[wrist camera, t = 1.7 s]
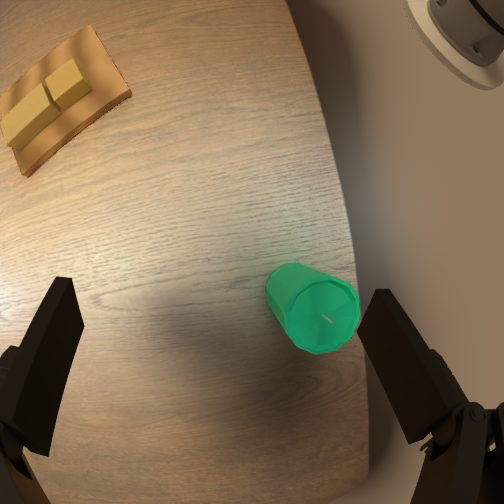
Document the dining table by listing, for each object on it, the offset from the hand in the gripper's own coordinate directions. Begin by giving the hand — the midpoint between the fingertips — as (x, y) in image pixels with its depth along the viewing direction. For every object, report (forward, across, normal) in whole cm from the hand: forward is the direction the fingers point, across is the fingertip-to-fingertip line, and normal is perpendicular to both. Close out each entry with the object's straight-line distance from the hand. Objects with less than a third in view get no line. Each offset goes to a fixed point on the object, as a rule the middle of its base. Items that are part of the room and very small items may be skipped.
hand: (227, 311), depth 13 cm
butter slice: (+26, -18, +8) cm, 32 cm away
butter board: (+28, -21, +7) cm, 35 cm away
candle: (+15, +9, -11) cm, 20 cm away
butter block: (+25, -22, +5) cm, 34 cm away
